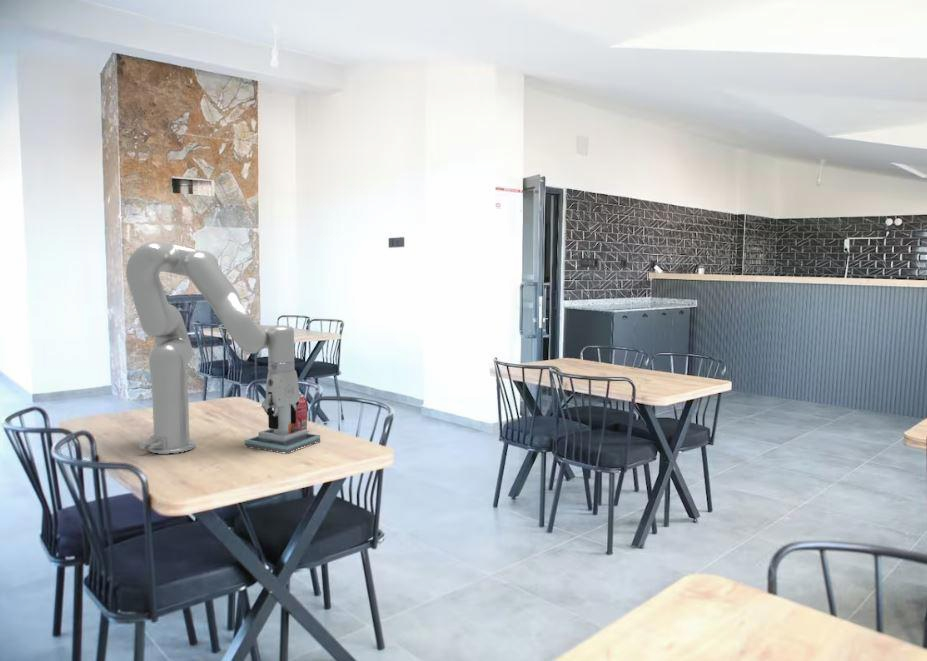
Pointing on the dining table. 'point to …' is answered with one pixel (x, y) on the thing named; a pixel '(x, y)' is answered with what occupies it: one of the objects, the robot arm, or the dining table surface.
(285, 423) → the skincare box
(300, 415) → the soda can
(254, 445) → the tray
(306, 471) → the dining table surface
